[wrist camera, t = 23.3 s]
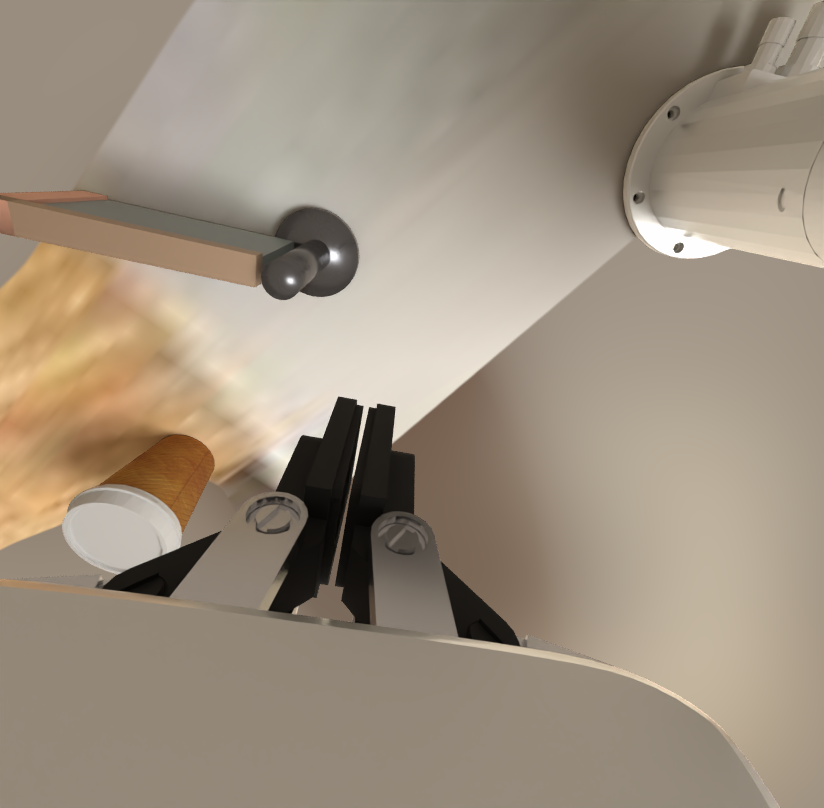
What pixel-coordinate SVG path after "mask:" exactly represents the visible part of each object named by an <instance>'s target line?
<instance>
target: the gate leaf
mask: <svg viewBox="0 0 824 808" xmlns="http://www.w3.org/2000/svg"><path fill="white" fill-rule="evenodd" d="M0 233H2V234H7V235H12V236H16V237H21V238H25V239H30V240H35V241H39V242H44V243H49V244H53V245H58V246H63V247H68V248H72V249H77V250H82V251H86V252H91V253H96V254H100V255H105V256H110V257H115V258H119V259H124V260H129V261H133V262H138V263H143V264H147V265H152V266H157V267H162V268H166V269H171V270H176V271H180V272H185V273H190V274H194V275H199V276H204V277H209V278H213V279H218V280H223V281H227V282H232V283H237V284H241V285H246V286H251V287H257V286H258V285H260V284H261V273H262V270H263V268H264V267H265V265H267V264H268V263H269V262H271V261H273V260H275V259H277V258H278V257H280V256H282V255H284V254H286V253H288V252H289V251H291V250H293V249H294V241H290V240H286V239H281V238H277V237H272V236H268V235H263V234H259V233H254V232H250V231H246V230H241V229H237V228H232V227H228V226H223V225H219V224H214V223H210V222H205V221H201V220H197V219H192V218H188V217H183V216H179V215H174V214H170V213H165V212H161V211H156V210H152V209H147V208H143V207H139V206H134V205H130V204H125V203H121V202H116V201H112V200H108V196H105V195H100V194H96V193H91V192H87V191H58V192H25V193H24V192H23V193H0Z"/></svg>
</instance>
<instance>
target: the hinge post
mask: <svg viewBox="0 0 824 808" xmlns="http://www.w3.org/2000/svg"><path fill="white" fill-rule="evenodd" d="M276 237H277V238H281V239H286V240H290V241H294V249H293V250H291V251H289V252H288V253H286V254H284V255H282V256H280V257H278V258H277V259H275V260H273V261H271V262H269V263H268V264H267V265H265V267H264V268H263V270H262V273H261V281H262V285H263V287H264V289H265V290H266V292H267V293H268V294H269V295H271V296H272V297H274V298H276V299H279V300H287V299H290V298H292V297H294V296H295V295H296V294H297V293H298V292H299V291H300V292H302V293H305V294H307V295H311V296H316V297H325V296H330V295H334V294H336V293H338V292H340V291H341V290H343V289H344V288H345V287H346V286H347V285H348V284H349V283H350V282H351V280H352V279H353V277H354V275H355V273H356V271H357V268H358V263H359V249H358V244H357V241H356V238H355V236H354V234H353V232H352V230H351V229H350V228H349V226H348V225H347V224H346V223H345V222H344V221H343V220H342V219H341V218H340V217H338V216H337V215H335V214H334V213H332V212H329V211H327V210H323V209H317V208H310V209H304V210H300V211H297V212H295V213H293V214H292V215H290V216H289V217H287V218H286V219H285V220H284V221H283V223H282V224H281V225H280V227H279V229H278V231H277V234H276Z"/></svg>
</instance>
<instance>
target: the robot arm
mask: <svg viewBox="0 0 824 808" xmlns="http://www.w3.org/2000/svg"><path fill="white" fill-rule="evenodd" d="M795 23H796V20H795V19H793V18H791V17H777V18H773V19H772V20H770V22H769V24H768V26H767V29H766V31H765V33H764V35H763V37H762V39H761V41H760V44H759V48H758V51H757V53H756V55H755V57H754V59H753V61H752V63H751V64H749V65H746V66H738V67H732V68H726V69H722V70H719V71H716V72H713V73H710V74H708V75H705V76H703V77H701V78H699V79H697V80H695V81H693V82H691V83H689V84H688V85H686V86H685V87H683V88H682V89H681V90H679V91H678V92H676V93H675V94H674V95H672V96H671V97H670V98H669V99H668V100H667V101H666V102H665V103H664V104H663V105H662V106H661V107H660V108H659V109H658V110H657V111H656V112H655V114H654V115H653V116H652V118H651V119H650V120H649V122H648V123H647V124H646V125H645V127H644V129H643V130H642V132H641V134H640V136H639V137H638V139H637V141H636V143H635V145H634V147H633V150H632V152H631V155H630V158H629V160H628V163H627V168H626V172H625V177H624V187H623V201H624V208H625V213H626V216H627V219H628V222H629V225H630V227H631V228H632V230H633V232H634V233H635V235H636V236H637V238H638V239H639V240H641V241H642V242H643V243H644V244H645V245H646V246H647V247H649V248H650V249H652V250H654V251H656V252H657V253H660V254H663V255H666V256H669V257H674V258H680V259H696V258H703V257H707V256H711V255H715V254H717V253H720V252H722V251H725V250H727V249H730V248H732V249H737V250H742V251H746V252H751V253H756V254H760V255H765V256H770V257H774V258H779V259H784V260H788V261H793V262H798V263H803V264H807V265H812V266H816V267H821V268H824V67H823V68H819V67H818V66H819V64H820V62H821V60H822V58H823V56H824V1H822V2H818V3H817V4H815V5H814V6H813V7H812V9H811V11H810V13H809V15H808V17H807V19H806V21H805V24H804V26H803V28H802V30H801V32H800V34H799V36H798V38H797V40H796V45H795V47H794V49H793V51H792V53H791V55H790V57H789V59H788V61H787V63H786V65H784V66H781V67H779V68H778V69H777V68H776V67H775V66H773V65H774V63H775V61H776V59H777V57H778V55H779V53H780V51H781V49H782V48H783V47H784V45H785V43H786V41H787V39H788V37H789V35H790V33H791V31H792V29H793V27H794V25H795ZM668 111H670V117H669V118H668V116H667V114H668ZM635 194H636V196H637V197H636V199H635V200H634V201H633V197H634V195H635ZM674 245H675V247H674V248H673V246H674ZM362 412H363V406H360V405H357V400H354V399H349V398H343V397H338V399H337V401H336V404H335V407H334V409H333V412H332V415H331V417H330V420H329V423H328V426H327V428H326V431H325V434H324V436H323V439H322V438H316V437H311V436H305V435H302V436H301V438H300V440H299V442H298V444H297V446H296V448H295V450H294V453H293V455H292V457H291V459H290V461H289V463H288V466H287V468H286V470H285V472H284V474H283V476H282V479H281V481H280V483H279V485H278V487H277V490H276V492H266V493H262V494H259V495H256V496H254V497H252V498H250V499H249V500H248V501H246V502H245V503H244V504H243V505H242V506H241V507H240V509H239V510H238V511H237V513H236V514H235V515H234V516H233V518H232V519H231V520H230V521H229V523H228V524H227V525H226V527H225V528H224V529H223V530H222V531H220V532H218V533H215V534H213V535H210V536H208V537H205V538H203V539H200V540H198V541H196V542H194V543H191V544H188V545H186V546H183V547H181V548H178V549H176V550H174V551H171V552H169V553H166V554H164V555H161V556H159V557H156V558H154V559H152V560H149V561H147V562H144V563H142V564H139V565H137V566H134V567H132V568H130V569H128V570H126V571H124V572H122V573H120V574H118V575H116V576H115V577H114V578H113V579H111V580H102V576H101V575H82V576H62V577H44V578H24V579H23V578H22V579H0V808H780V807H779V805H778V804H777V802H776V800H775V799H774V797H773V796H772V794H771V793H770V791H769V790H768V788H767V787H766V785H765V784H764V782H763V781H762V779H761V777H760V776H759V775H758V773H757V772H756V770H755V769H754V767H753V766H752V765H751V763H750V762H749V760H748V759H747V758H746V756H745V755H744V754H743V752H742V751H741V750H740V748H739V747H738V746H737V745H736V743H735V742H734V741H733V740H732V739H731V738H730V736H729V735H728V734H727V733H726V732H725V731H724V730H723V729H722V727H720V726H719V725H718V724H717V723H716V722H715V721H714V720H713V719H712V718H710V717H709V716H708V715H707V714H706V713H704V712H703V711H701V710H700V709H699V708H697V707H696V706H694V705H693V704H691V703H690V702H688V701H687V700H685V699H684V698H682V697H680V696H679V695H677V694H675V693H673V692H671V691H669V690H667V689H665V688H663V687H662V686H660V685H658V684H656V683H654V682H652V681H650V680H648V679H646V678H643V677H641V676H638V675H635V674H633V673H630V672H628V671H625V670H623V669H620V668H618V667H614V666H612V665H610V664H607V663H604V662H601V661H599V660H596V659H593V658H591V657H588V656H585V655H582V654H580V653H577V652H574V651H571V650H569V649H566V648H563V647H560V646H558V645H555V644H552V643H549V642H547V641H544V640H541V639H539V638H536V637H533V636H530V635H528V634H527V636H526V637H525V639H523V638H520V637H518V636H516V635H515V633H514V631H513V630H512V629H511V628H510V626H509V625H508V624H507V623H506V622H505V621H504V620H503V619H502V618H501V617H500V616H499V615H498V614H497V613H496V612H495V611H493V610H492V609H491V608H490V607H489V606H488V605H487V604H486V603H485V602H484V601H483V600H482V599H481V598H480V597H478V596H477V595H476V594H475V593H474V592H473V591H472V590H471V589H470V588H469V587H468V586H467V585H466V584H465V583H464V582H462V581H461V580H460V579H459V578H458V577H457V576H456V575H455V574H454V573H453V572H452V571H451V570H450V569H448V568H447V567H446V566H445V565H444V564H443V563H442V562H441V561H440V557H439V552H438V548H437V544H436V540H435V536H434V533H433V531H432V529H431V527H430V526H429V525H428V524H427V523H426V521H424V520H422V519H421V518H420V517H418V516H416V515H414V471H415V456H414V454H409V453H403V452H397V451H392V450H391V447H392V438H393V428H394V418H395V407H393V406H387V405H382V404H377V408H371V407H369V411H368V415H367V420H366V424H365V429H364V434H363V438H362V443H361V447H360V452H359V457H358V461H357V466H356V470H355V475H354V479H353V484H352V489H351V494H350V499H349V505H348V511H347V517H346V524H345V529H344V535H343V541H342V547H341V553H340V559H339V565H338V571H337V577H336V584H335V586H338V587H344V589H343V594H342V600H341V601H342V602H343V603H344V604H345V605H346V606H347V608H348V609H349V610H350V611H351V613H352V614H353V620H352V622H346V621H339V620H332V619H325V618H318V617H310V616H303V615H296V614H297V611H298V606H299V605H301V604H302V603H304V602H306V601H307V600H309V599H310V598H312V597H314V598H316V597H317V593H318V590H319V586H320V584H325V585H328V583H329V579H330V574H331V570H332V566H333V561H334V557H335V552H336V548H337V543H338V539H339V534H340V530H341V525H342V521H343V516H344V512H345V507H346V503H347V498H348V494H349V490H350V485H351V479H352V473H353V467H354V461H355V455H356V449H357V443H358V437H359V431H360V425H361V419H362Z"/></svg>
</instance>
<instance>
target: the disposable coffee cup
mask: <svg viewBox="0 0 824 808" xmlns="http://www.w3.org/2000/svg"><path fill="white" fill-rule="evenodd" d="M214 466H215V465H214V458H213V456H212V454H211V452H210V451H209V450H208V448H207V447H206V446H205V445H204V444H202V443H201V442H199V441H198V440H196V439H194V438H192V437H188V436H184V435H172V436H168V437H166V438H164V439H162V440H161V441H160V442H159V443H157V444H156V445H154V446H153V447H152V448H150V449H149V450H147V451H146V452H145V453H143V454H142V455H140V456H139V457H137V458H136V459H135V460H133V461H132V462H131V463H129V464H128V465H126V466H125V467H124V468H122V469H121V470H119V471H118V472H117V473H115V474H114V475H112V476H111V477H110V478H108V479H107V480H105V481H104V482H103V483H101V484H100V485H98V486H96V487H94V488H91V489H88V490H85V491H83V492H82V493H80V494H79V495H77V496H76V497H75V498H74V499H73V500H72V502H71V503H70V504H69V507H68V512H67V514H66V516H65V518H64V520H63V524H62V529H63V534H64V537H65V539H66V541H67V543H68V544H69V546H70V547H71V548H72V549H73V550H74V551H75V552H76V553H77V554H78V555H79V556H80V557H81V558H83V559H84V560H86V561H87V562H88V563H90V564H92V565H93V566H96V567H98V568H100V569H102V570H105V571H108V572H111V573H115V574H120V573H122V572H124V571H126V570H128V569H130V568H132V567H134V566H137V565H139V564H142V563H144V562H147V561H149V560H152V559H154V558H156V557H159V556H161V555H164V554H166V553H169V552H171V551H174V550H176V549H178V548H180V546H181V537H182V532H183V531H184V529H185V526H186V525H187V522H188V521H189V519H190V516H191V515H192V512H193V511H194V508H195V506H196V504H197V502H198V500H199V498H200V496H201V494H202V492H203V490H204V488H205V486H206V484H207V482H208V480H209V478H210V476H211V474H212V472H213V470H214Z"/></svg>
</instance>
